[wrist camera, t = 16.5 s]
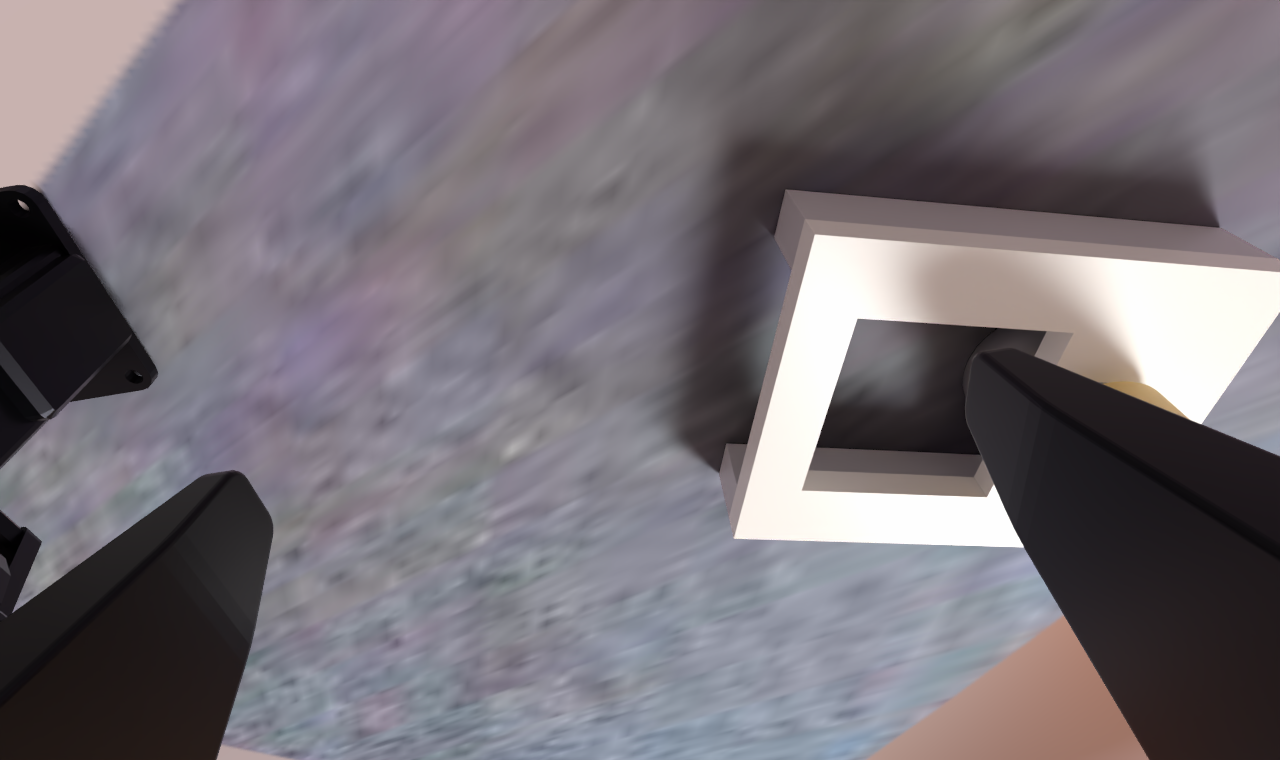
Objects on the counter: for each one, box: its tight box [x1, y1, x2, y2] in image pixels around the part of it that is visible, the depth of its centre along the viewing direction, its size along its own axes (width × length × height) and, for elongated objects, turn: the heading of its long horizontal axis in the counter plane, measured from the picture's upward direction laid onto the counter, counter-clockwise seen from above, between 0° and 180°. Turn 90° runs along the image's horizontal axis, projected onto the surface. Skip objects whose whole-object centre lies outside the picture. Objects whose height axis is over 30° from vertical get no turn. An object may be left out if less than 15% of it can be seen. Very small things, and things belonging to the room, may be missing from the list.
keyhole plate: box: [719, 189, 1280, 547], centre depth 23 cm, size 14×11×3 cm
